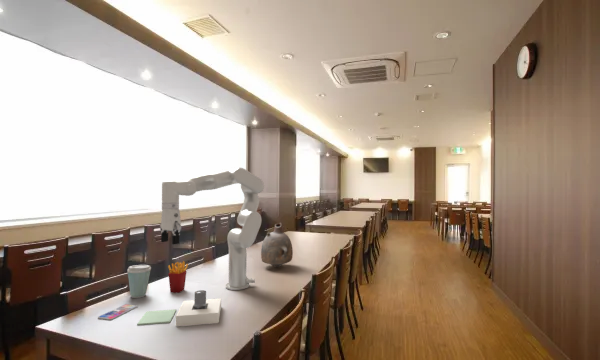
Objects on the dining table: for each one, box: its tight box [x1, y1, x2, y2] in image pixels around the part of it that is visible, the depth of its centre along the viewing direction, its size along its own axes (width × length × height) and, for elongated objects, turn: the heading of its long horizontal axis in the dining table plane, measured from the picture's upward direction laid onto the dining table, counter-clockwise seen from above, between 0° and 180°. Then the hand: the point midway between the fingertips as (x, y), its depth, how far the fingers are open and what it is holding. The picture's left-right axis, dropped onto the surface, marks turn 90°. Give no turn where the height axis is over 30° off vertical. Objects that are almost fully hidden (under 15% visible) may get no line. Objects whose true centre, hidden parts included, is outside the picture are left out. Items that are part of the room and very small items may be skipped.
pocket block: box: [175, 297, 222, 327], centre depth 126 cm, size 16×16×4 cm
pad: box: [136, 309, 177, 326], centre depth 124 cm, size 12×12×1 cm
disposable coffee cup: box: [126, 264, 152, 299], centre depth 150 cm, size 11×11×15 cm
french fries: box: [167, 260, 189, 294], centre depth 158 cm, size 9×8×15 cm
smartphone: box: [97, 303, 138, 321], centre depth 129 cm, size 7×1×15 cm
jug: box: [260, 222, 294, 268], centre depth 204 cm, size 24×21×30 cm
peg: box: [193, 289, 207, 310], centre depth 126 cm, size 5×5×10 cm
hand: (170, 242), depth 142 cm, fingers open, 9 cm apart
